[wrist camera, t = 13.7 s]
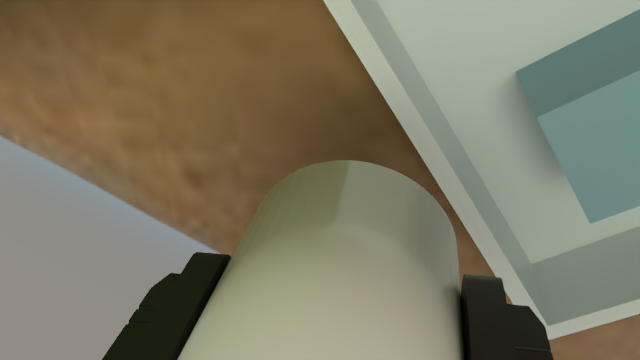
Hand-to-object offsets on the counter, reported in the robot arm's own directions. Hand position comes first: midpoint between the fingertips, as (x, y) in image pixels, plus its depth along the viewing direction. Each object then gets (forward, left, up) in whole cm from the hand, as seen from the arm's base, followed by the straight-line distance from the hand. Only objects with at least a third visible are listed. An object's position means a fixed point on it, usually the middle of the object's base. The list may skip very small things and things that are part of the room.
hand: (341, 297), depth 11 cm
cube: (-5, -7, -14) cm, 17 cm away
